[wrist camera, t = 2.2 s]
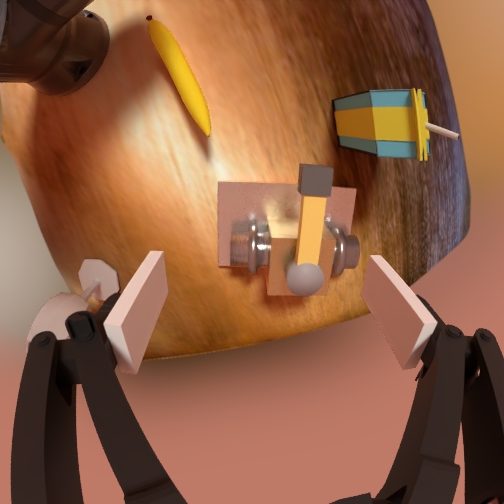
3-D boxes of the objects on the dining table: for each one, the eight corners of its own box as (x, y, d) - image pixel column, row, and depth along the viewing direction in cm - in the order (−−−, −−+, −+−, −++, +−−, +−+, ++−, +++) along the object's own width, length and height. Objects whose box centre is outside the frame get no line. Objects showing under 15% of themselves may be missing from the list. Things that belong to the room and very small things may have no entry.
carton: (385, 145, 37) (462, 164, 21) (338, 148, 38) (400, 167, 21) (380, 98, 34) (456, 90, 18) (331, 98, 35) (391, 83, 18)
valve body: (219, 262, 45) (213, 297, 36) (218, 180, 40) (210, 196, 31) (342, 265, 46) (362, 297, 37) (354, 187, 40) (381, 205, 31)
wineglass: (118, 305, 48) (71, 390, 29) (79, 289, 47) (23, 363, 28) (123, 266, 45) (65, 350, 26) (81, 250, 43) (11, 321, 24)
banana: (204, 140, 37) (196, 142, 31) (151, 34, 30) (137, 21, 24) (222, 131, 37) (218, 131, 31) (169, 24, 29) (157, 10, 24)
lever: (317, 287, 36) (321, 296, 34) (283, 287, 35) (285, 296, 34) (333, 166, 29) (339, 169, 27) (294, 163, 29) (297, 165, 27)
